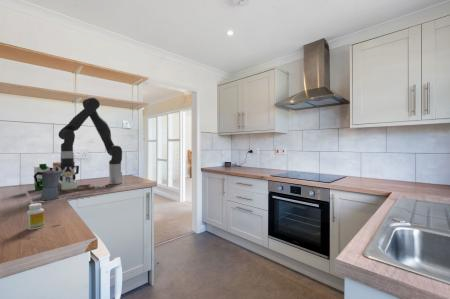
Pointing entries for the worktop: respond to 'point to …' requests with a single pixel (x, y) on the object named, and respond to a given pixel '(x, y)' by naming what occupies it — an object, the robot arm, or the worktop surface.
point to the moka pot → (49, 184)
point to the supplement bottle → (35, 216)
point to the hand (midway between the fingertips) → (67, 180)
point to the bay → (79, 188)
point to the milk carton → (39, 177)
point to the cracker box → (58, 164)
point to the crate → (67, 184)
